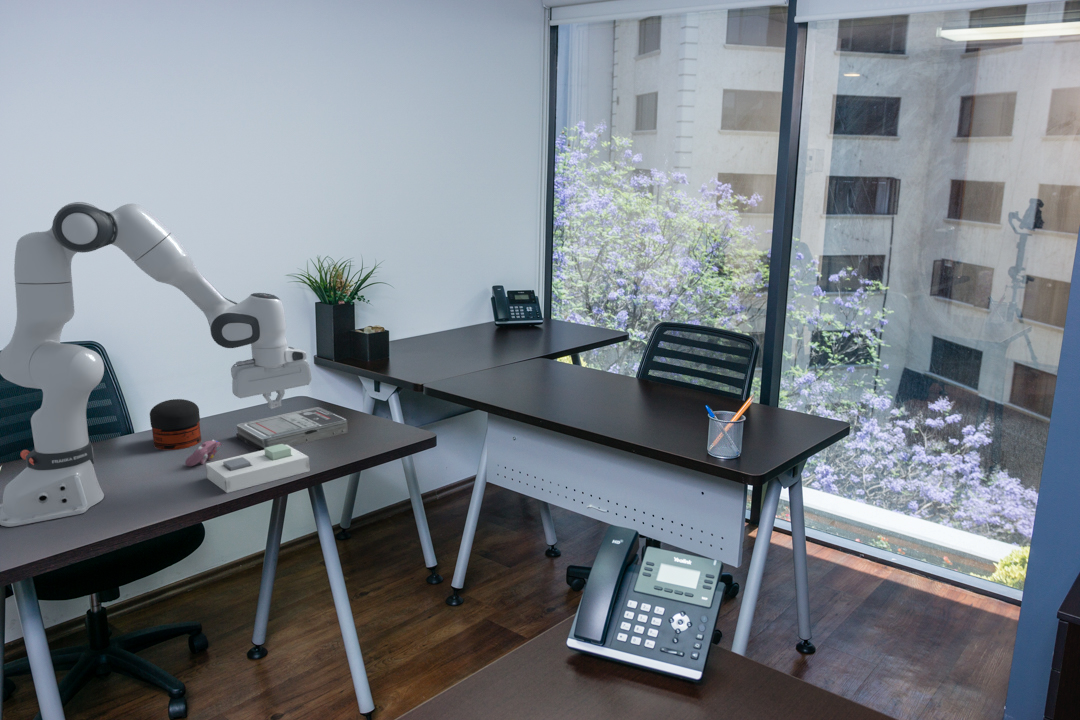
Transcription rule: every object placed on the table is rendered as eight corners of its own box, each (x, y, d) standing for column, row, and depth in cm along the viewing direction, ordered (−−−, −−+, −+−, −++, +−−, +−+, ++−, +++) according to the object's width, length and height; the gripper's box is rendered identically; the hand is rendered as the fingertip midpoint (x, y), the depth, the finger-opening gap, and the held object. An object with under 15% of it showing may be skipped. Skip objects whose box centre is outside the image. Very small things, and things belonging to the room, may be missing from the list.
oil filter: (144, 443, 234) (167, 453, 226) (140, 403, 231) (162, 411, 223) (187, 432, 243) (210, 441, 236) (183, 393, 241) (206, 401, 233)
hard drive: (236, 438, 239) (235, 424, 238) (319, 419, 257) (318, 406, 256) (263, 454, 226) (262, 439, 225) (349, 433, 244) (348, 419, 243)
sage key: (273, 463, 210) (272, 452, 209) (265, 458, 213) (264, 447, 213) (291, 459, 213) (290, 448, 212) (283, 454, 217) (282, 443, 216)
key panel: (227, 493, 199) (225, 477, 198) (207, 478, 208) (205, 463, 207) (309, 471, 213) (308, 456, 212) (287, 458, 222) (286, 444, 221)
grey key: (231, 478, 203) (230, 466, 202) (224, 472, 207) (223, 461, 206) (251, 473, 206) (250, 462, 206) (243, 467, 210) (242, 457, 209)
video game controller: (197, 473, 215) (205, 452, 213) (182, 465, 216) (190, 443, 214) (218, 460, 225) (226, 440, 223) (204, 452, 225) (212, 432, 223)
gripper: (235, 365, 198) (240, 418, 201) (312, 351, 211) (316, 402, 214) (225, 360, 202) (230, 412, 206) (301, 347, 216) (305, 397, 219)
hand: (274, 407), depth 210 cm, fingers closed
